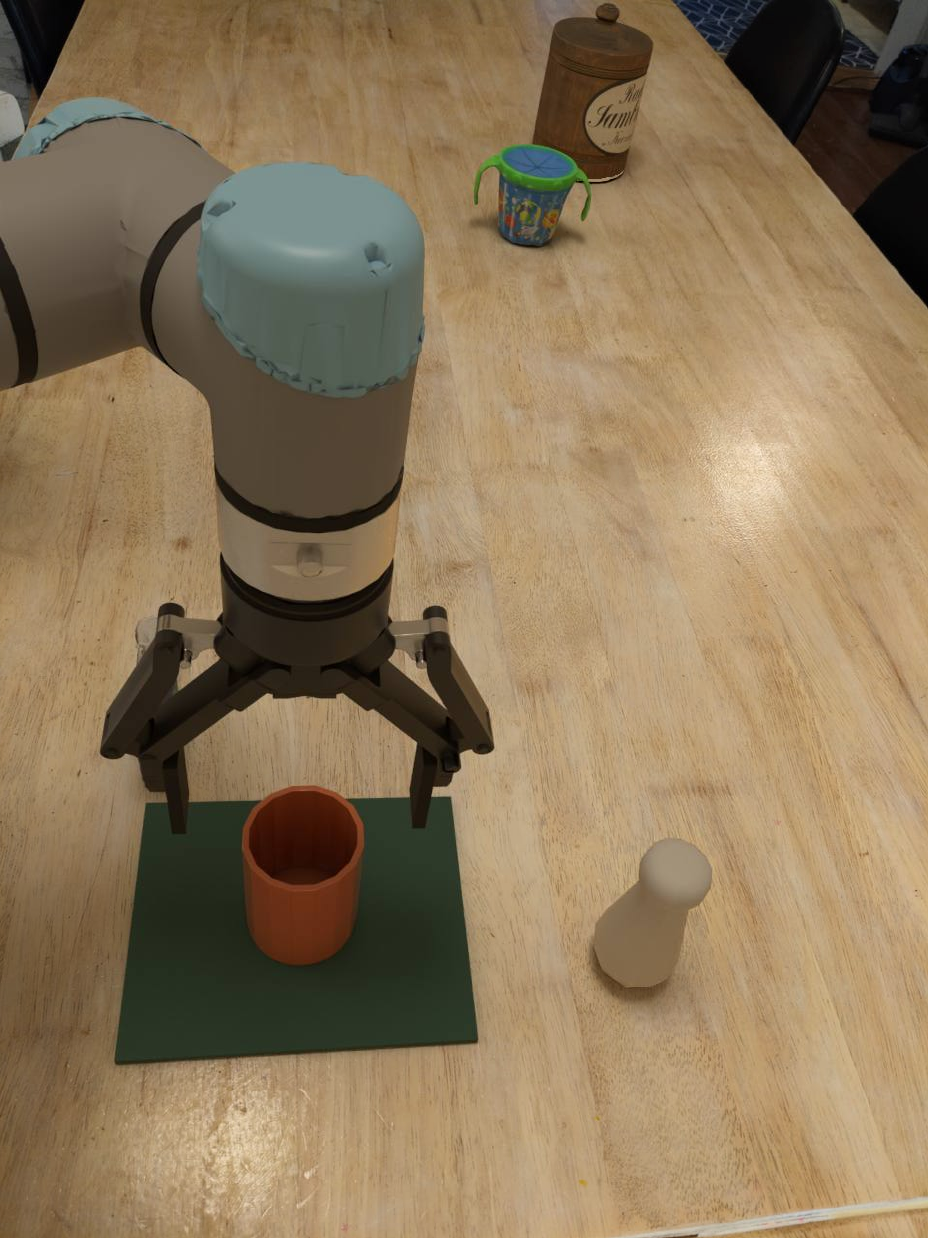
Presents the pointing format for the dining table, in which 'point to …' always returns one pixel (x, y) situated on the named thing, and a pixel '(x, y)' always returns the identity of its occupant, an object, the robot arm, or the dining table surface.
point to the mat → (282, 993)
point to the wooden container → (593, 91)
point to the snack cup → (532, 191)
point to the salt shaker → (652, 915)
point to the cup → (302, 873)
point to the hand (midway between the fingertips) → (301, 811)
